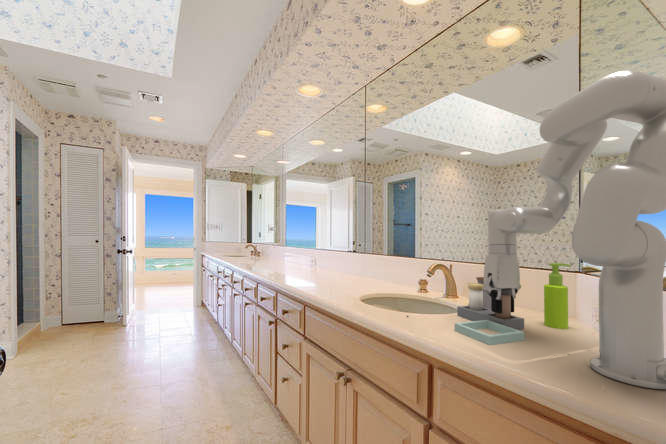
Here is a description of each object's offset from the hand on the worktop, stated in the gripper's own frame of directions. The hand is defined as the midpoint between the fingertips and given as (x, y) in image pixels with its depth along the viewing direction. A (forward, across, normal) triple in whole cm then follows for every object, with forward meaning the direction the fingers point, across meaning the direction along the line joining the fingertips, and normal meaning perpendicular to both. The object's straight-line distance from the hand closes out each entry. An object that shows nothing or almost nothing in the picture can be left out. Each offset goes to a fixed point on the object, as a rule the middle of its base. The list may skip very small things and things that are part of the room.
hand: (502, 311), depth 92 cm
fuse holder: (+5, 0, -5) cm, 8 cm away
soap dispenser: (+6, -17, +5) cm, 19 cm away
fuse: (+4, 0, -10) cm, 11 cm away
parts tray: (+6, +11, +5) cm, 13 cm away
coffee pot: (+6, -15, -17) cm, 24 cm away
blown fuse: (+4, 0, 0) cm, 4 cm away
